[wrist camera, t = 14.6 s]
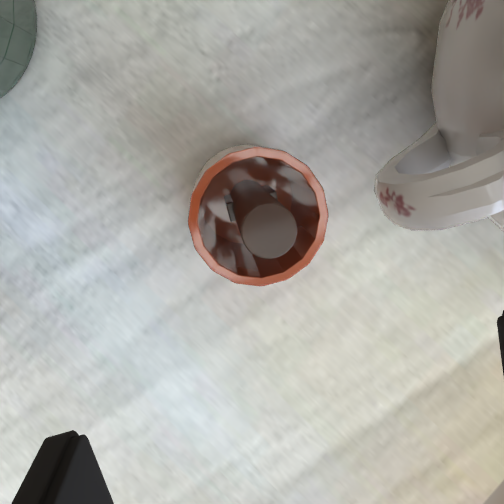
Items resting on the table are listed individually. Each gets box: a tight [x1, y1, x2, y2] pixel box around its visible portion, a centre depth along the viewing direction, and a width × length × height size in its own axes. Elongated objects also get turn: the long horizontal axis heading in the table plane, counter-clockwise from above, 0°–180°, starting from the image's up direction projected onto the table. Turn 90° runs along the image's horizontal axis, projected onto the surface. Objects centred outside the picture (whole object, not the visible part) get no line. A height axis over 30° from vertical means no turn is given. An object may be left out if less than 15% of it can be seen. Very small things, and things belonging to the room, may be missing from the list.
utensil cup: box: [188, 144, 328, 286], centre depth 30 cm, size 7×7×9 cm
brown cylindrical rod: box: [224, 180, 297, 259], centre depth 28 cm, size 3×3×12 cm
